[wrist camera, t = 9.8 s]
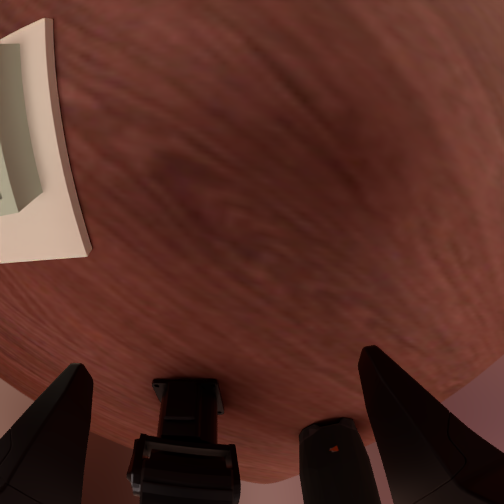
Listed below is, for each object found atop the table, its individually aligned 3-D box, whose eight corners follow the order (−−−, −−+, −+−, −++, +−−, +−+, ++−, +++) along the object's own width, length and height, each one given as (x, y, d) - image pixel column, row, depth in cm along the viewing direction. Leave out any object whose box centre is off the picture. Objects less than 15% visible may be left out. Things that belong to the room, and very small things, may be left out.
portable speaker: (305, 416, 34) (331, 565, 17) (371, 413, 35) (407, 542, 18) (284, 444, 38) (301, 568, 21) (343, 440, 39) (369, 553, 23)
